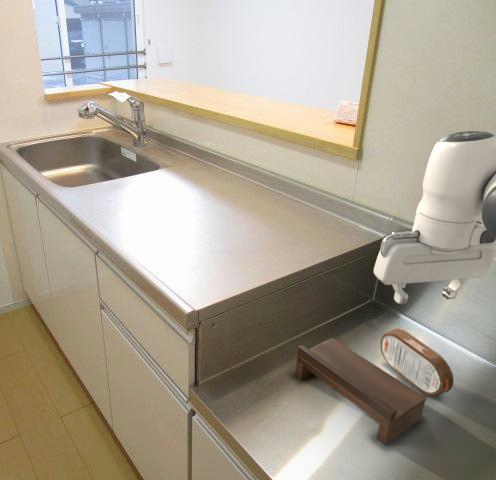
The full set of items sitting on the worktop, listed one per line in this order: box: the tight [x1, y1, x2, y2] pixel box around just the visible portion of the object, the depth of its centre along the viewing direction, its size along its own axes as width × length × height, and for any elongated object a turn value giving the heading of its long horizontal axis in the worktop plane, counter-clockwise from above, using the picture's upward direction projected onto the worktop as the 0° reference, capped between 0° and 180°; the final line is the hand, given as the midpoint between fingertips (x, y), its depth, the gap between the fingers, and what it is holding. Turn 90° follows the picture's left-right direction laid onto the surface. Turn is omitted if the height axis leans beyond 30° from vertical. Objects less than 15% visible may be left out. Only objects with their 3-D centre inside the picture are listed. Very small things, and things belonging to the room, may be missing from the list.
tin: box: [379, 328, 455, 397], centre depth 86 cm, size 15×3×8 cm, turn 22°
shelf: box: [294, 337, 427, 446], centre depth 83 cm, size 10×20×7 cm, turn 32°
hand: (424, 299), depth 81 cm, fingers open, 8 cm apart
